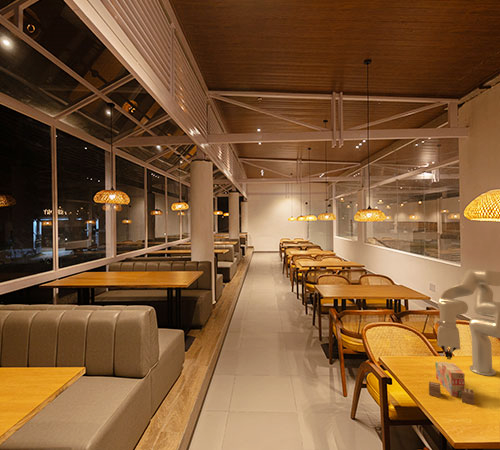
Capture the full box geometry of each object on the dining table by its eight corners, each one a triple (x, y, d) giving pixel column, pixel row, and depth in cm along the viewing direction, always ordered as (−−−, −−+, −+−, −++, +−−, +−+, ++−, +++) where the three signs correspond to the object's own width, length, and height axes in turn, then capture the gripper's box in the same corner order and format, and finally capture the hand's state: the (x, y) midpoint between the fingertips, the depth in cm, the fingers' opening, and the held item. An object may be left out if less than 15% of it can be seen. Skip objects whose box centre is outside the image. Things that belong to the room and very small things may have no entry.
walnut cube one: (429, 390, 167) (429, 381, 167) (440, 393, 165) (440, 383, 165) (429, 395, 163) (428, 384, 163) (440, 397, 160) (440, 387, 161)
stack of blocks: (435, 377, 182) (435, 356, 183) (447, 378, 181) (447, 356, 181) (451, 396, 161) (450, 372, 162) (465, 397, 160) (464, 372, 160)
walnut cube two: (461, 397, 160) (461, 387, 160) (473, 400, 157) (473, 389, 158) (461, 402, 156) (461, 391, 156) (474, 404, 153) (474, 394, 153)
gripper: (431, 324, 172) (432, 358, 171) (465, 328, 164) (466, 364, 164) (432, 320, 178) (433, 354, 178) (464, 324, 171) (465, 359, 170)
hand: (448, 358), depth 171 cm, fingers closed
